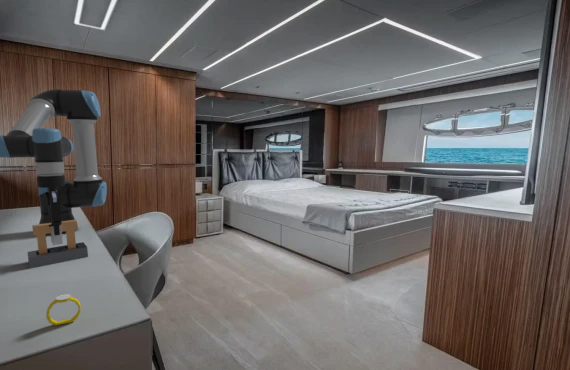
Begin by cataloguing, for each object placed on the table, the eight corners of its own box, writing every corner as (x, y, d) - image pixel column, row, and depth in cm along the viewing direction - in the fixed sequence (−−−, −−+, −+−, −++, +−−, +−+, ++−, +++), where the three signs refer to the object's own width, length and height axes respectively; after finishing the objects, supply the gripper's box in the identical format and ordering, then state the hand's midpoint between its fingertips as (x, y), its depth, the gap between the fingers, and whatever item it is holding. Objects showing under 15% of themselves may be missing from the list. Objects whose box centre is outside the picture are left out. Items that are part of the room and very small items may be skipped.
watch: (47, 330, 64) (44, 303, 63) (48, 324, 66) (45, 297, 66) (81, 321, 67) (79, 295, 66) (81, 315, 69) (79, 290, 69)
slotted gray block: (29, 268, 98) (28, 258, 97) (28, 261, 104) (27, 251, 103) (88, 256, 108) (87, 247, 108) (84, 251, 114) (83, 242, 114)
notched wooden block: (35, 256, 100) (32, 226, 99) (35, 254, 102) (32, 225, 101) (79, 248, 108) (76, 220, 107) (77, 246, 110) (75, 219, 109)
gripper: (34, 174, 106) (41, 240, 109) (37, 177, 94) (45, 250, 97) (61, 173, 111) (67, 236, 113) (67, 175, 99) (73, 245, 102)
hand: (57, 242), depth 105 cm, fingers closed on notched wooden block, 3 cm apart
